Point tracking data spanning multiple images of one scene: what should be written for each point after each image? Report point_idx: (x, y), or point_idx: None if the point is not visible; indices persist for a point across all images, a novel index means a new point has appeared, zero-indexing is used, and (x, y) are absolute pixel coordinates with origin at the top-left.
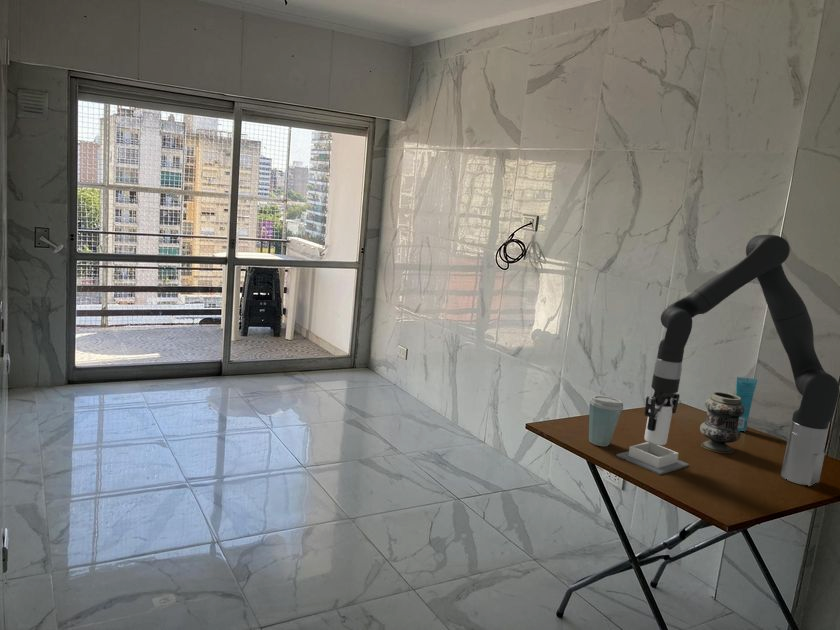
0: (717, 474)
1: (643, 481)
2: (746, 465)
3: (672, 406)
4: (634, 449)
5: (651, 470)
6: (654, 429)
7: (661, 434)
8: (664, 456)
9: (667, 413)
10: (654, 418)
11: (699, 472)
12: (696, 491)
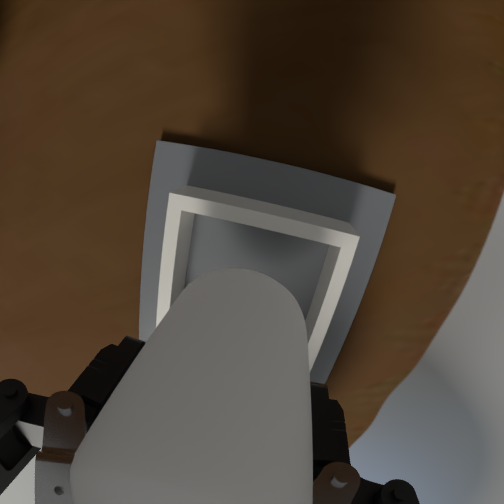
0: (151, 28)
1: (492, 222)
2: (6, 45)
3: (40, 480)
4: (313, 360)
5: (380, 236)
6: (320, 390)
7: (290, 328)
8: (301, 227)
9: (253, 485)
10: (353, 473)
11: (195, 77)
12: (428, 35)
